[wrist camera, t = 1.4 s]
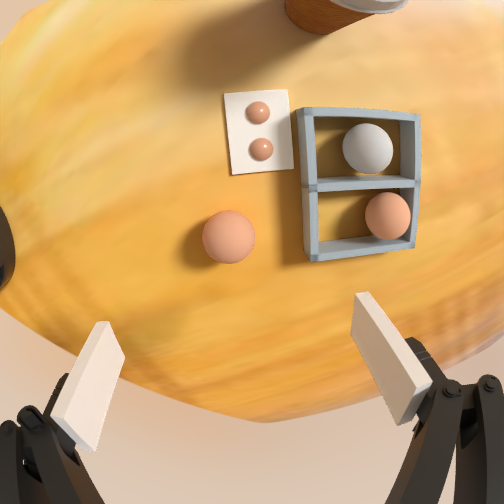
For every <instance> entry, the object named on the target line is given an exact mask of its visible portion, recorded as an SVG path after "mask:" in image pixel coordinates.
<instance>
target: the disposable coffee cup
mask: <svg viewBox="0 0 504 504" xmlns="http://www.w3.org/2000/svg"><path fill="white" fill-rule="evenodd" d="M407 2H408V0H286V2H285V9H286V12H287V15H288V16H289V18H290V19H291V20H292V21H293V22H294V23H295V24H296V25H297V26H298V27H300V28H302V29H304V30H306V31H308V32H311V33H316V34H328V33H332V32H334V31H336V30H339V29H341V28H343V27H345V26H347V25H350V24H352V23H354V22H357V21H359V20H361V19H364V18H366V17H369V16H371V15H374V14H386V13H392V12H395V11H397V10H399V9H401V8H403V7H404V6H405V5H406V4H407Z"/></svg>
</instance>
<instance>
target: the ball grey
mask: <svg viewBox="0 0 504 504" xmlns="http://www.w3.org/2000/svg"><path fill="white" fill-rule="evenodd" d="M343 154H344V157H345V159H346V161H347V162H348V164H349V165H350V166H351V167H352V168H353V169H355V170H356V171H358V172H360V173H364V174H376V173H379V172H381V171H383V170H384V169H385V168H386V167H387V166H388V165H389V163H390V162H391V159H392V156H393V146H392V142H391V139H390V138H389V136H388V134H387V133H386V132H385V131H384V130H383V129H381V128H380V127H378V126H376V125H373V124H368V123H363V124H359V125H356V126H354V127H352V128H351V129H350V130H349V131H348V132H347V134H346V135H345V137H344V140H343Z"/></svg>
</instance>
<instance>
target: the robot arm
mask: <svg viewBox="0 0 504 504" xmlns="http://www.w3.org/2000/svg"><path fill="white" fill-rule="evenodd" d="M14 267H15V248H14V241H13V237H12V233H11V229H10V226H9V223H8V221H7V218H6V216H5V214H4V212H3V210H2V208H1V207H0V289H1V288H2V287H3V286H4V285H5V284H6V283H7V282H8V281H9V280H10V279H11V277H12V274H13V271H14ZM350 334H351V336H352V338H353V340H354V342H355V344H356V345H357V347H358V349H359V351H360V353H361V355H362V357H363V359H364V361H365V363H366V364H367V366H368V368H369V370H370V372H371V374H372V376H373V378H374V380H375V382H376V384H377V386H378V388H379V390H380V392H381V394H382V396H383V398H384V400H385V402H386V404H387V406H388V408H389V410H390V412H391V414H392V416H393V419H394V421H395V423H396V425H397V426H399V425H401V424H404V423H407V422H409V421H411V420H412V419H413V418H414V416H415V414H417V415H418V417H419V421H418V422H417V424H416V426H415V427H414V429H413V431H415V432H414V435H413V438H412V441H411V443H410V446H409V449H408V452H407V455H406V457H405V460H404V462H403V465H402V467H401V469H400V472H399V474H398V477H397V479H396V481H395V483H394V486H393V488H392V490H391V492H390V494H389V496H388V498H387V500H386V503H385V504H438V501H439V498H440V495H441V493H442V490H443V487H444V484H445V481H446V478H447V474H448V471H449V467H450V464H451V460H452V456H453V452H454V448H455V444H456V475H455V492H454V502H453V504H504V394H503V390H502V386H501V383H500V381H499V380H498V379H497V378H496V377H495V376H493V375H488V374H487V375H483V376H482V377H481V378H480V379H479V381H478V382H477V384H469V385H461V384H460V383H459V382H457V381H455V380H449V379H447V378H446V376H445V375H444V374H443V372H442V371H441V369H440V368H439V367H438V365H437V364H436V362H435V361H434V360H433V358H432V357H431V355H430V354H429V353H428V351H426V349H425V347H424V346H423V345H422V343H421V342H419V341H418V340H416V339H415V338H413V337H410V338H407V339H403V337H402V336H401V335H400V333H399V332H398V330H397V329H396V328H395V326H394V325H393V324H392V322H391V321H390V319H389V318H388V317H387V315H386V314H385V313H384V311H383V310H382V309H381V307H380V306H379V305H378V303H377V302H376V301H375V300H374V298H373V297H372V296H371V294H370V293H369V292H368V291H367V292H361V293H356V294H355V300H354V309H353V317H352V325H351V332H350ZM124 360H125V356H124V354H123V352H122V350H121V348H120V346H119V344H118V341H117V339H116V337H115V335H114V333H113V330H112V328H111V326H110V323H109V321H98V322H97V323H96V324H95V326H94V328H93V330H92V332H91V333H90V335H89V337H88V339H87V341H86V342H85V344H84V346H83V348H82V350H81V352H80V354H79V356H78V358H77V360H76V362H75V363H74V365H73V367H72V369H71V371H70V373H65V374H64V375H63V376H62V378H60V379H59V381H58V383H57V385H56V387H55V388H56V389H54V391H53V393H52V394H53V395H51V398H50V400H49V402H48V404H47V406H46V408H45V411H44V413H43V415H42V414H41V413H40V412H39V410H38V409H37V408H36V407H34V406H31V405H29V406H25V407H24V408H22V409H21V410H20V412H19V413H18V415H17V422H18V423H19V424H20V425H21V427H18V426H17V425H16V424H15V423H14V422H13V421H11V420H7V421H4V422H3V423H2V424H1V426H0V504H105V503H104V501H103V500H102V498H101V496H100V495H99V493H98V491H97V489H96V488H95V486H94V484H93V482H92V480H91V478H90V477H89V475H88V473H87V471H86V469H85V467H84V465H83V463H82V461H81V459H80V456H79V454H78V452H77V451H76V450H75V444H77V445H78V446H79V447H80V448H81V449H83V450H88V451H92V452H96V448H97V445H98V441H99V437H100V433H101V430H102V427H103V423H104V420H105V417H106V413H107V410H108V407H109V404H110V401H111V398H112V395H113V392H114V389H115V386H116V382H117V380H118V377H119V374H120V371H121V368H122V366H123V363H124ZM23 460H24V465H23Z"/></svg>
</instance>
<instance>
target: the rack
mask: <svg viewBox="0 0 504 504" xmlns="http://www.w3.org/2000/svg"><path fill="white" fill-rule="evenodd" d="M296 116H297V128H298V141H299V156H300V172H301V191H302V214H303V248H304V252H305V254H306V255H307V257H308V259H309V260H310V262H317V261H324V260H332V259H340V258H347V257H355V256H362V255H369V254H377V253H384V252H391V251H398V250H405V249H412V248H415V240H416V232H417V222H418V212H419V199H420V181H421V124H420V114H414V113H406V112H397V111H387V110H375V109H360V108H335V107H303V108H300V109H297V110H296ZM313 117H346V118H370V119H385V120H397V121H399V125H400V175H365V176H340V177H321V178H317V166H316V148H315V133H314V119H313ZM380 188H400V194H399V196H400V197H402V198H403V199H404V200H405V202H406V203H407V205H408V207H409V210H410V224H409V226H408V229H407V230H406V232H405V233H404V234H403V235H402V236H400V237H398V238H396V239H393V240H384V239H381V238H378V237H377V236H375V235H374V236H365V237H356V238H347V239H338V240H330V241H321V242H318V192H327V191H342V190H359V189H380Z"/></svg>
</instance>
